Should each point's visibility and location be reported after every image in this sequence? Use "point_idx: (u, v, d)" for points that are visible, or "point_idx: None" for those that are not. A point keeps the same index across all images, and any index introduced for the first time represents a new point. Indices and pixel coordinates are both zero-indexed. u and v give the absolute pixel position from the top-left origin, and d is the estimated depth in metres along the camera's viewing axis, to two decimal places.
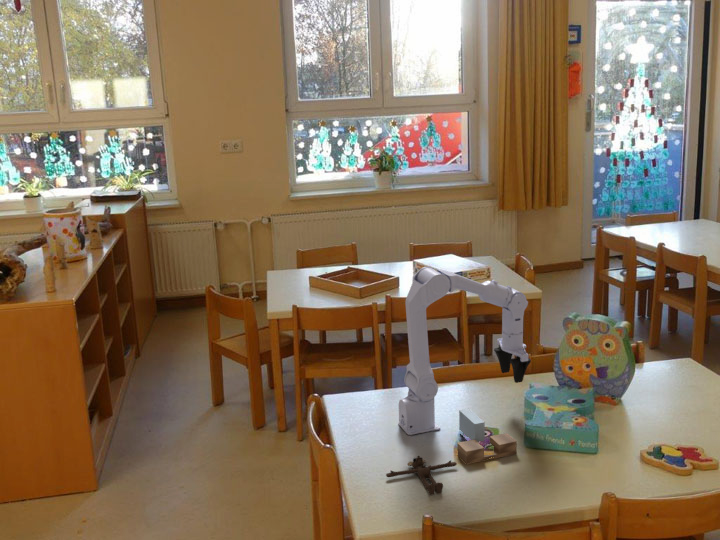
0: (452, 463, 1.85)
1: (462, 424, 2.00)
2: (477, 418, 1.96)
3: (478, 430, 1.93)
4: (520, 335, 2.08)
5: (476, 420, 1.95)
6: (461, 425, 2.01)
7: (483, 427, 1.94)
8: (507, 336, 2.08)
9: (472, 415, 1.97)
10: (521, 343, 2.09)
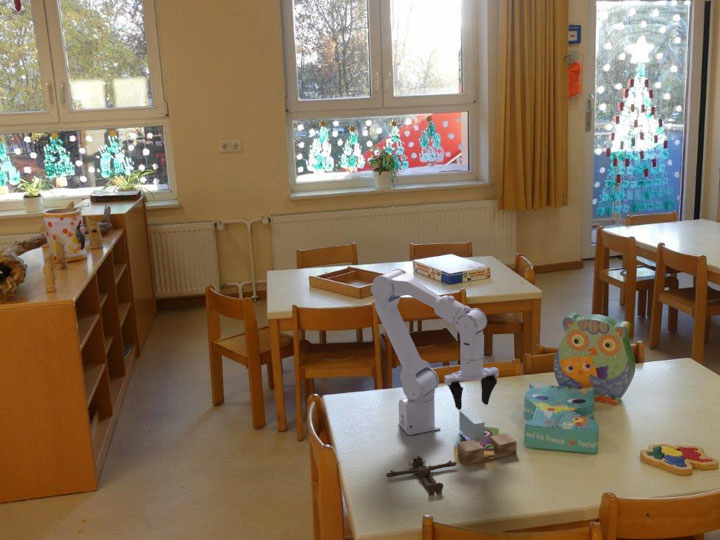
0: (452, 463, 1.85)
1: (462, 424, 2.00)
2: (477, 418, 1.96)
3: (478, 430, 1.93)
4: (464, 361, 1.92)
5: (476, 420, 1.95)
6: (461, 425, 2.01)
7: (483, 427, 1.94)
8: None
9: (472, 415, 1.97)
10: (466, 371, 1.92)
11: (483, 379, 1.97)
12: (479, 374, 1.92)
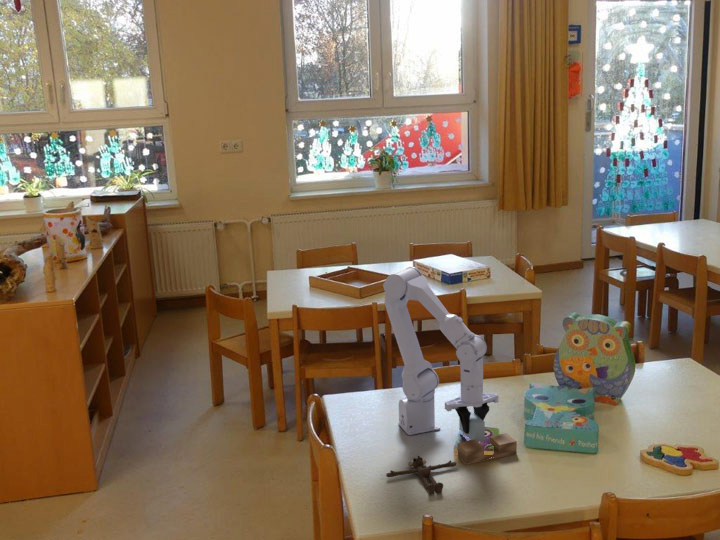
0: (452, 463, 1.85)
1: None
2: (477, 418, 1.96)
3: (478, 430, 1.93)
4: (464, 387, 1.93)
5: (476, 419, 1.95)
6: (461, 425, 2.01)
7: (483, 427, 1.94)
8: None
9: (472, 415, 1.97)
10: (466, 397, 1.94)
11: None
12: (479, 400, 1.94)
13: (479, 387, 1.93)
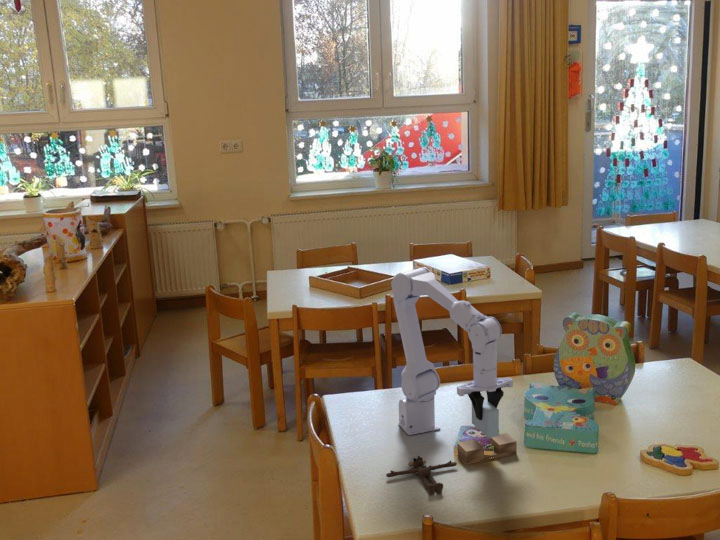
0: (452, 463, 1.85)
1: None
2: (491, 406, 1.88)
3: (492, 418, 1.85)
4: (477, 371, 1.85)
5: (489, 407, 1.87)
6: (474, 413, 1.93)
7: (497, 415, 1.86)
8: None
9: (485, 403, 1.89)
10: (479, 381, 1.85)
11: None
12: (493, 385, 1.85)
13: (493, 371, 1.84)
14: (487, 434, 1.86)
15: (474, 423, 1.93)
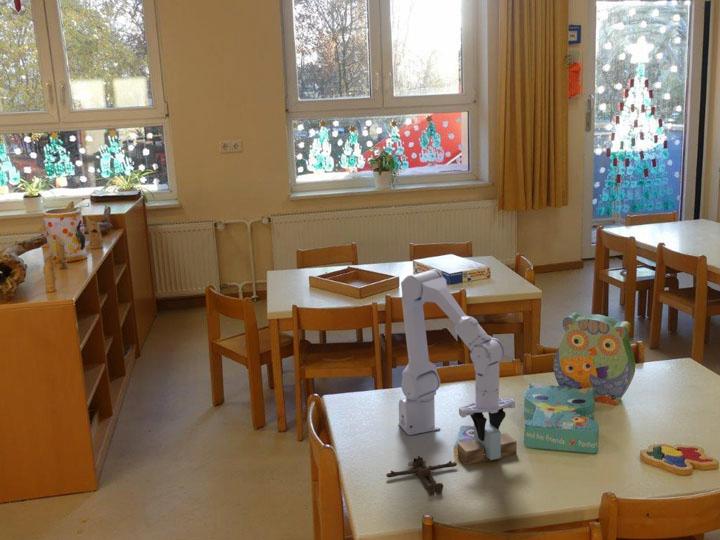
0: (452, 463, 1.85)
1: None
2: (493, 428, 1.88)
3: (494, 440, 1.85)
4: (479, 392, 1.85)
5: (492, 430, 1.87)
6: (476, 435, 1.93)
7: (499, 437, 1.86)
8: None
9: (487, 425, 1.89)
10: (481, 402, 1.85)
11: None
12: (495, 406, 1.85)
13: (495, 392, 1.84)
14: (489, 456, 1.87)
15: None
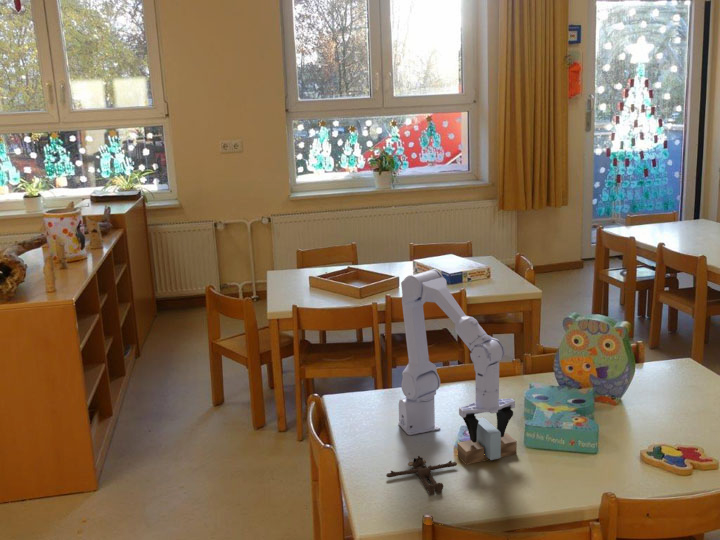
0: (452, 463, 1.85)
1: (477, 433, 1.92)
2: (493, 428, 1.88)
3: (494, 440, 1.85)
4: (479, 392, 1.85)
5: (492, 430, 1.87)
6: None
7: (499, 437, 1.86)
8: None
9: (487, 425, 1.89)
10: (481, 403, 1.85)
11: (499, 410, 1.90)
12: (495, 406, 1.85)
13: (495, 392, 1.84)
14: (489, 456, 1.87)
15: None
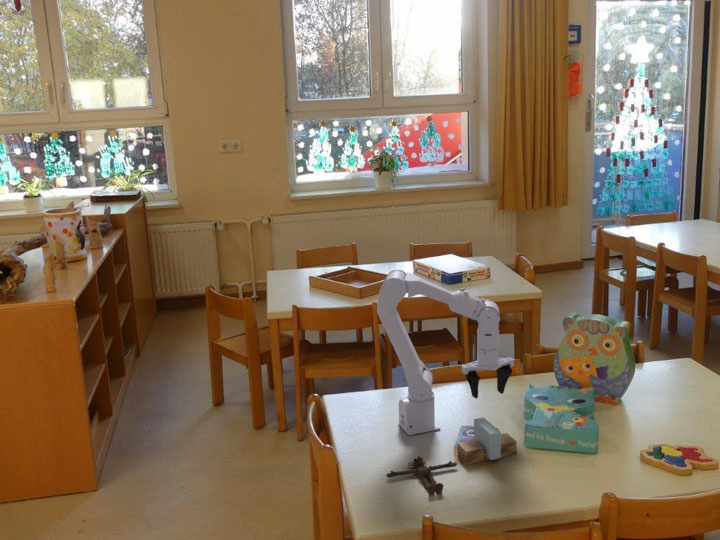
0: (452, 463, 1.85)
1: (477, 433, 1.92)
2: (493, 428, 1.88)
3: (494, 440, 1.85)
4: (480, 351, 1.98)
5: (492, 430, 1.87)
6: (476, 435, 1.93)
7: (499, 437, 1.86)
8: None
9: (487, 425, 1.89)
10: (482, 360, 1.98)
11: (499, 369, 2.03)
12: (495, 364, 1.98)
13: (495, 350, 1.97)
14: (489, 456, 1.87)
15: None
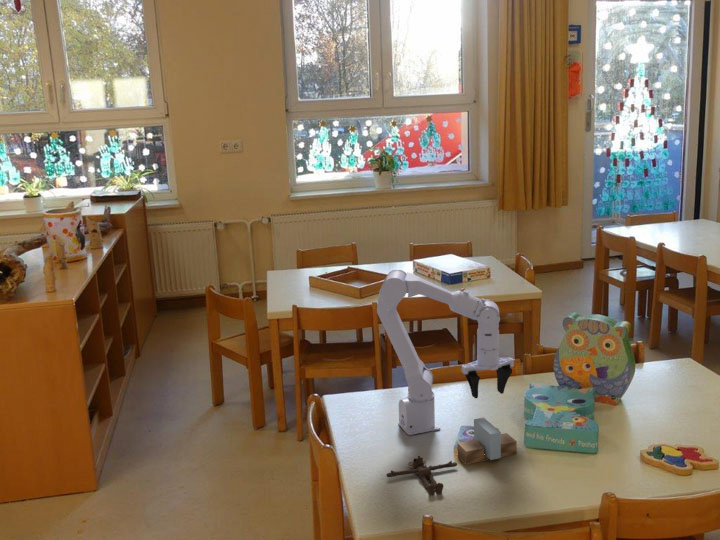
0: (453, 463, 1.85)
1: (477, 433, 1.92)
2: (493, 428, 1.88)
3: (494, 440, 1.85)
4: (480, 351, 1.98)
5: (492, 430, 1.87)
6: (476, 435, 1.93)
7: (499, 437, 1.86)
8: None
9: (487, 425, 1.89)
10: (482, 360, 1.98)
11: (499, 369, 2.03)
12: (495, 364, 1.98)
13: (495, 350, 1.97)
14: (489, 456, 1.87)
15: None
